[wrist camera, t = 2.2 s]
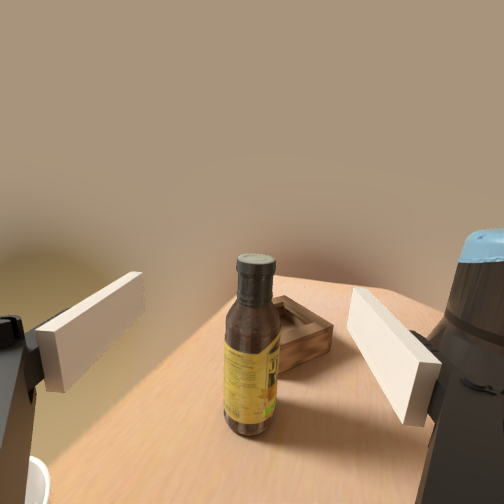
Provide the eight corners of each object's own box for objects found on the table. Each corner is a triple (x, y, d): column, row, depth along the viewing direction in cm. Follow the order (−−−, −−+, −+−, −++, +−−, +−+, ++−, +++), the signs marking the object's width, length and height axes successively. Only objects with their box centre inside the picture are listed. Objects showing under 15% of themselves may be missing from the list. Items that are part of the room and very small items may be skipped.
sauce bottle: (276, 441, 27) (291, 270, 22) (219, 438, 27) (221, 267, 22) (272, 393, 33) (283, 251, 28) (226, 391, 33) (228, 249, 28)
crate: (282, 316, 53) (284, 295, 52) (329, 350, 42) (333, 325, 41) (229, 332, 46) (229, 308, 45) (268, 378, 36) (271, 348, 34)
